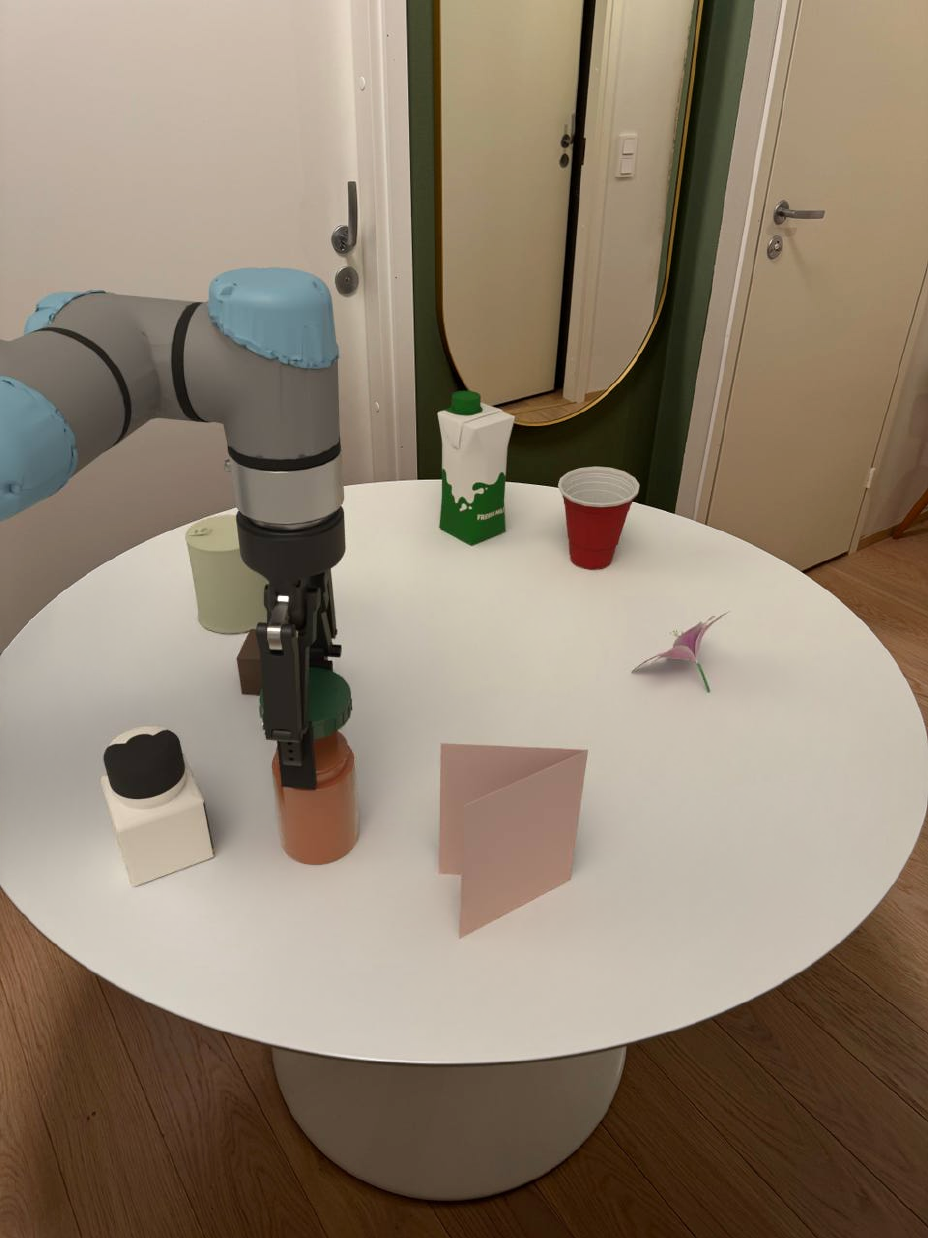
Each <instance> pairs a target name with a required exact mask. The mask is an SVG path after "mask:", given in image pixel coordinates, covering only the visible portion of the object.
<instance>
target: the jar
mask: <svg viewBox="0 0 928 1238" xmlns="http://www.w3.org/2000/svg"><path fill="white" fill-rule="evenodd" d="M314 752H315V765H316V778H317V784H316V788H315V789H304V788H291V787H282V784H281V775H280V766H279V757H278V748H277V747H276V748H275V752H274V755H273V758H272V760H271V765H270V766H271V767H270V768H271V774H272V775H271V776H272V782H273V791H274V798H275V806H276V813H277V821H278V822H277V823H278V828H279V838H280V844H281V847H282V849H283V851H284V852H285V854H287V855H288V856H289V857H290V858H291V859H292V860H294V861H297V862H299V863H301V864H306V865H313V866H314V865H315V866H316V865H317V866H318V865H319V866H320V865H326V864H330V863H333V862H335V861H338V860H340V859H341V858H344V857H345V856H347V854H348V853H350V852H351V851H352V850H353V848H354V847H355V845H356V844H357V841H358V839H359V833H360V832H359V815H358V798H357V797H358V796H357V795H358V794H357V779H356V777H357V776H356V761H355V754H354V751H353V750H352V748H351V746H350V745H349V744H348V740H347V738H346V737H345V736H344V734H343V733H342V732H340V731H339V730H338V731H337V732H335V733H333V734H331V735H329V736H326V737H323V738H320V739H315V740H314Z"/></svg>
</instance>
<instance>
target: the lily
mask: <svg viewBox="0 0 928 1238" xmlns="http://www.w3.org/2000/svg"><path fill="white" fill-rule="evenodd" d="M730 612H731V610H729V611H727V612H725V613H724V614H722V615H720V616H718V617H716V615H713V616H710V617H709V618H708V619H707V620H706V621H705V622H702V621H699V622H698V623H697V624H696V625H694V626H692V627H691V628H689V629H687V630H686V631H684V632H683V631H681V634H679V633H678V630H672V632H669V634H670V635H672V636H674V637H675V640H674V641H673V643H672V648H670V649H668V650H667V651H664V652H661V653H658V654H655V655H653V656H652V657H650V658H648V659H646V660H645V661H642V662H641V663H640V664H638V666H636V667H635V668H634V669H632V672H635V671H636V670H637V669H638V668H640V667H641V666H643V665H645V664H647V662H649V661H651V660H653V659H654V660H653V661H651V662H650V663H649V665H652V664H653V663H656V662H657V661H658V660H659V659H675V660H676V659H677V660H686V661H693V662H694V663H695V665H696V666H697V668H698V670H699V673H700V675H701V677H702V680H703V682H704V685H705V688H706V690H707V693H711V689H710V686H709V683H708V681H707V678H706V674H705V673H704V671H703V668H702V666H701V664H700V661H699V659H698V655H699V649H700V645H701V642H702V639H703V637H704V636H705V633H706V632H707V630H708V629H709V628H710V627H711V626H712V625H713V624H715V623H716V622H717V621H719V620H720V619H721V618H723V617H724V616H725V615H727V614H729V613H730ZM715 617H716V618H715ZM714 618H715V619H714ZM710 620H712V621H710ZM709 621H710V622H709ZM708 622H709V623H708ZM673 633H674V634H673ZM655 658H656V659H655Z"/></svg>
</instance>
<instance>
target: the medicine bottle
mask: <svg viewBox="0 0 928 1238" xmlns="http://www.w3.org/2000/svg"><path fill="white" fill-rule="evenodd" d="M181 744H182V743H181V740H180V738H179V736H178V735H177V734H176V733H175V732H173V731H172V730H170V729H167V728H166V727H162V726H159V725H158V726H157V725H144V726H138V727H134V728H131V729H129V730H126V731H124V732H122V733H121V734H119V735H117V736H116V737H115V738H114V739H113V740H112V741H111V742H110V743H109V744H108V746H107V747H106V748H105V750H104V753H103V757H102V759H103V764H104V767H105V772H106V774H104V775H102V776H101V777H100V784H101V788H102V792H103V795H104V799H105V802H106V806H107V809H108V813H109V817H110V820H111V824H112V828H113V831H114V835H115V838H116V841H117V845H118V847H119V848H118V849H119V850H120V854H121V857H122V861H123V863H124V866H125V870H126V874H127V876H128V880H129V883H130V885H132V887H138V886H141V885H144V884H146V883H148V882H151V881H154V880H156V879H159V878H162V877H165V876H167V875H169V874H172V873H175V872H177V871H181V870H183V869H186V868H188V867H192V866H194V865H197V864H199V863H202V862H204V861H207V860H210V859H212V858H213V857H214V856H215V848H214V843H213V839H212V833H211V828H210V823H209V819H208V812H207V808H206V803H205V802H206V801H205V799H204V797H203V795H202V792H201V790H200V787H199V785H198V783H197V780H196V778H195V776H194V773H193V772H192V769H191V766H190V765H189V763H188V760H187V758H186V756H185V753H184V752H183V749H182V745H181Z"/></svg>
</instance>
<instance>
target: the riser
mask: <svg viewBox="0 0 928 1238" xmlns="http://www.w3.org/2000/svg"><path fill="white" fill-rule="evenodd" d="M255 630H256V629H250V631H248V633H247V636H246V637H245V639H244V642H243V644H242V646H241V648H240V650H239V652H238V654H237V656H236V664H237V672H238V678H239V684H240V685H239V686H240V693H241V695H245V696H246V695H248V696H260V692H261V690H262V676H261V661H260V651H259V647H258V642H257V638H256V633H255Z"/></svg>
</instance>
